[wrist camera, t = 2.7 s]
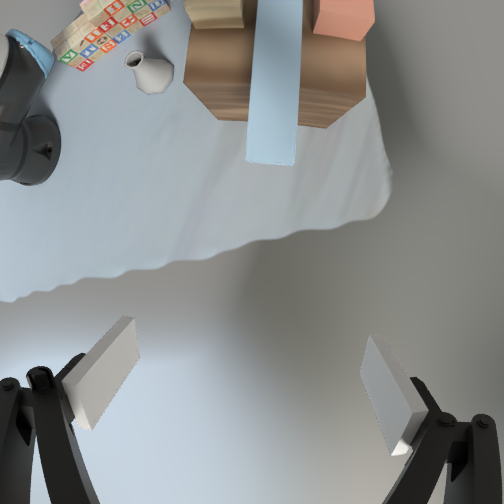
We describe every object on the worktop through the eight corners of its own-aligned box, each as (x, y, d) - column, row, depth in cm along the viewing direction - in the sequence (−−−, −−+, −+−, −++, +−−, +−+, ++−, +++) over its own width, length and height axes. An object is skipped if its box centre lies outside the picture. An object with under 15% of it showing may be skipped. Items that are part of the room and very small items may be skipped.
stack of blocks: (83, 72, 46) (47, 56, 34) (74, 54, 45) (40, 36, 33) (172, 10, 42) (151, -22, 30) (159, -7, 41) (138, -38, 29)
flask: (146, 57, 45) (123, 37, 35) (180, 62, 45) (163, 41, 35) (132, 91, 47) (106, 77, 37) (166, 98, 47) (145, 83, 37)
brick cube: (360, 41, 24) (374, 21, 19) (312, 33, 24) (320, 10, 19) (358, 6, 23) (371, -17, 18) (313, -2, 23) (319, -27, 18)
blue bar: (290, 165, 28) (294, 164, 24) (248, 162, 28) (245, 160, 24) (299, -20, 22) (303, -39, 19) (263, -22, 23) (262, -42, 19)
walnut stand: (325, 128, 47) (365, 97, 26) (218, 120, 48) (183, 82, 26) (328, 55, 44) (362, -9, 22) (225, 47, 44) (199, -21, 23)
